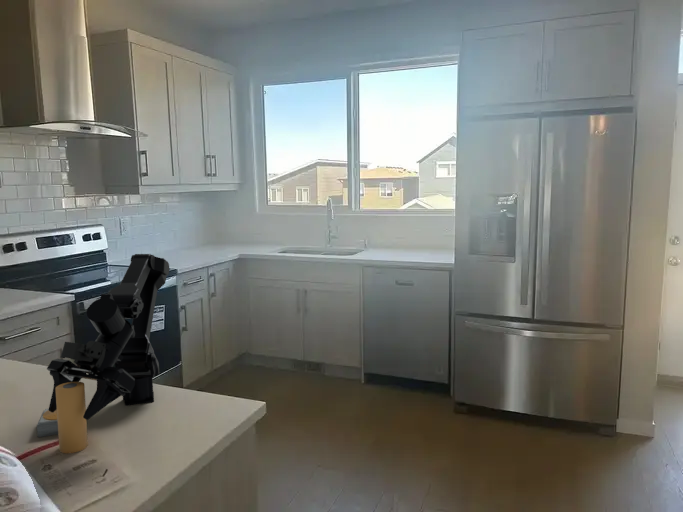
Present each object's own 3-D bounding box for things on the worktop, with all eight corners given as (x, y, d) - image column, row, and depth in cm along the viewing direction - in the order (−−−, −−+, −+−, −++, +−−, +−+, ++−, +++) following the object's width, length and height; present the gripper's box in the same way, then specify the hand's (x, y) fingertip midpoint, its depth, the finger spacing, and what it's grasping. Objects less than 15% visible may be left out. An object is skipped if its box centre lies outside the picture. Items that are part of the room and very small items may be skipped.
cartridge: (89, 439, 106) (85, 379, 104) (86, 450, 101) (82, 387, 100) (61, 443, 104) (57, 382, 102) (57, 455, 99) (53, 391, 98)
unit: (85, 415, 117) (84, 402, 117) (80, 431, 110) (80, 416, 109) (44, 421, 114) (43, 407, 114) (37, 437, 107) (36, 422, 106)
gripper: (52, 320, 107) (3, 390, 98) (121, 328, 100) (76, 404, 91) (85, 347, 115) (44, 414, 106) (152, 357, 108) (113, 429, 99)
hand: (67, 415), depth 101 cm, fingers open, 9 cm apart
